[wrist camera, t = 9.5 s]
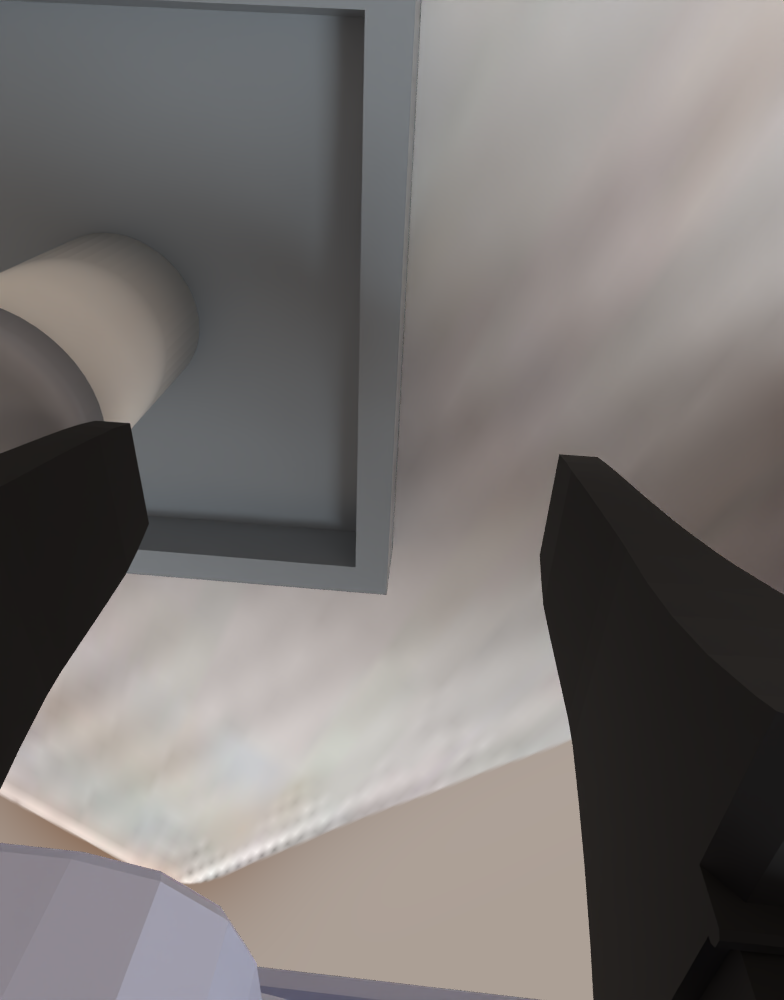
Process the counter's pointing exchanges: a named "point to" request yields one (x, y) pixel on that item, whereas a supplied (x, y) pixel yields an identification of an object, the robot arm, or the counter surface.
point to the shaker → (90, 336)
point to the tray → (239, 254)
